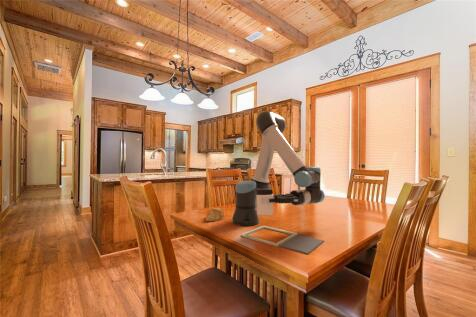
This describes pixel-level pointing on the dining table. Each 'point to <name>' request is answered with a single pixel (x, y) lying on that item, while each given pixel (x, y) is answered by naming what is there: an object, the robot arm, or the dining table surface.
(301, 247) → the mat
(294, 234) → the frame
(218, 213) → the croissant
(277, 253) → the dining table surface
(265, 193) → the jar
